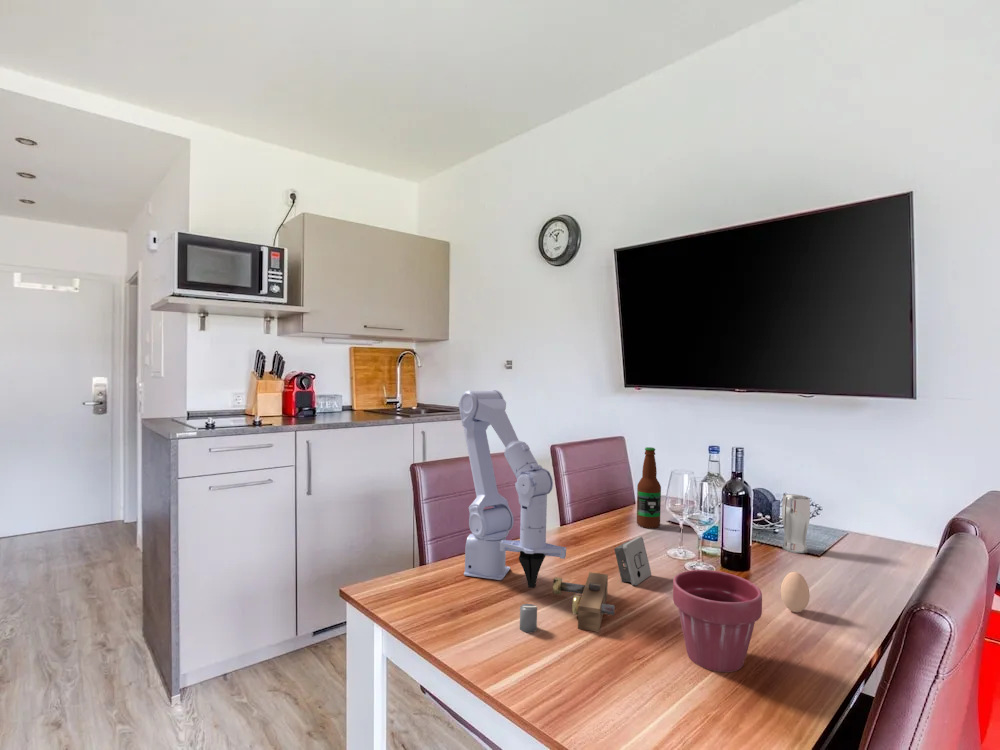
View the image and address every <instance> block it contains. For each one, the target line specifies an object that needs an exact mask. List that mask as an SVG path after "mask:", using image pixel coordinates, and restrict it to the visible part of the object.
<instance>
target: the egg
mask: <svg viewBox="0 0 1000 750" xmlns="http://www.w3.org/2000/svg"><path fill="white" fill-rule="evenodd" d="M810 596H811V595H810V589H809V585H808V583H807V580H806V578H805V577H804V576H803V575H802V574H801V573H799V572H797V571H790V572H789V573H787V574H786V576H785V577H784V578H783V580H782V583H781V586H780V598H781V601H782V603H783V604H784V606H785V607H786V608H787V609H788V610H789V611H791V612H793V613H800V612H803V611H805V609H806V608H807V607H808V605H809V603H810V598H811V597H810Z"/></svg>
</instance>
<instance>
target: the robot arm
mask: <svg viewBox="0 0 1000 750" xmlns="http://www.w3.org/2000/svg"><path fill="white" fill-rule="evenodd" d="M506 408H507V402H506V400H505V399H504V396H503V394H502V392H500V391H499V390H497V389H495V390H466V391H464V392H463V393H462V395H461V397H460V400H459V402H458V409H459V415H460V420H461V425H462V427H463V432H464V438H465V443H466V447H467V454H468V459H469V464H470V469H471V474H472V479H473V485H474V490H475V496H476V497H475V499H474V500H473V501H472V502H471V504H470V505H469V506H468V511H469V512H468V513H469V517H468V518H469V519H468V526H469V530H470V532H471V533H469V535H468V536H467V537H466V541H465V542H466V543H465V548H464V549H465V550H464V571H463V575H464V576H469V577H475V578H476V577H477V578H483V579H488V580H497V581H502V580H503V579H504V578H505V576H506V575H507V574H508V572H509V571H510V569H511V567H510V566H508V565H506V556H507V555H506V553H507V552H512V553H513V552H515V553H519V556H518V561H519V563H520V565H521V567H522V570H523V572H524V575H525V580H526V583H527V588H528V589H535V588H536V586H537V581H538V576H539V574H540V573H539V572H540V569H541V566H542V564H543V562H544V560H545V557H546V556H547V557H555V558H559V559H564V560H565V559H566V557H567V547H566V546H560V545H556V544H553V543H552V544H551V543H548V542H547V516H548V515H547V509H548V508H547V507H548V504H547V503H548V495H549V494H550V493H551V492H552V489H553V485H554V481H553V477H552V475H551V471H549V470H548V469H547V468H543V467H542V465H540V464H539V463H538V462H537V460H536V458H535V457H534V454H533V453H532V451H531V450H530V447H529V445H528V444H527V442H525V441H521V440H519V437H518V436H517V434H516V432H515V430H514V427H513V425H512V424H511V421H510V419H509V417H508V415H507V411H506ZM489 426H491V427H492V428H493V430H494V432H495V433H496V434H497V437H498V438H499V440H500V442H502V444H503V445H504V447H505V450H504V455H503V456H504V457H505V459H506V461H507V463H508V465H509V467H510V469H511V470H512V473H513V475H514V476H515V478H516V482H515V483H514V486H515V491H516V493H517V495H518V504H519V505H520V516H519V517H520V522H519V524H520V525H519V528H520V529H519V531H520V532H519V540H508V539H507V537H508V536H509V532H510V531H511V530H512V529H513V527H514V524H515V523H514V522H515V521H514V515H513V512H512V510H511V508H510V506H509V502H508V499H506V498H505V497H504V496H503V495H501V494H500V493H499V491H498V485H497V481H496V475H495V470H494V466H493V461H492V460H493V459H492V456H491V455H492V454H491V450H490V445H489V440H488V436H487V429H488V428H489ZM488 507H490V508H488Z"/></svg>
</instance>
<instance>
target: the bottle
mask: <svg viewBox="0 0 1000 750" xmlns="http://www.w3.org/2000/svg"><path fill="white" fill-rule="evenodd" d="M644 450H645V452H644V460H643V464H642V473H641V475H642V476H641V478H640V480H639V482H638V483H637V488H636V490H637V491H636V492H637V495H636V524H637V525H638V526H639V527H641V528H643V529H651V530H652V529H657V528H660V526H661V508H662V507H661V505H662V504H661V503H662V486H661V483H660V482H659V480H658V479H657V474H658V473H657V463H656V457H655V455H656V453H655V452H656V448H655V447H645V448H644Z"/></svg>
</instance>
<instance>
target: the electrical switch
mask: <svg viewBox="0 0 1000 750" xmlns="http://www.w3.org/2000/svg"><path fill="white" fill-rule="evenodd" d="M614 554H615V557H616V558H615V559H616V562H617V566H618V570H619V575H620V580H621V582H622V583H631V585H632V586H633V587H634V586H638V585H639V584H640V583H642V582H643V581H645V580H646V579H648V578H649V577H650V576H651V575H652V571H651V567H650V562H649V557H648V554H647V549H646V545H645V542H644V538H643V536H637V537H635V538H634V539H631V540H627V541H625V542H623V543H622V544H620V545H618V546H616V547H615V548H614Z"/></svg>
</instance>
